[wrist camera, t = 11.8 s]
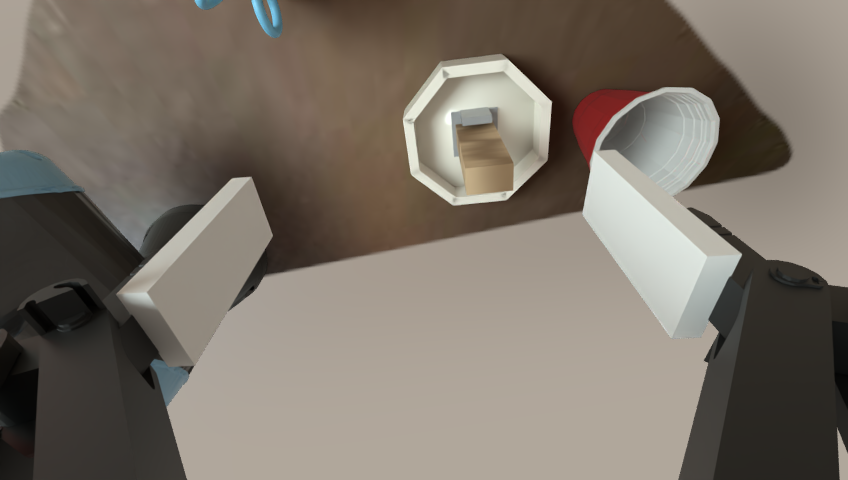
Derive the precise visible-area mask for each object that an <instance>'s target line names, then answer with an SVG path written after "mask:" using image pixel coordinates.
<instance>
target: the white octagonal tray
mask: <svg viewBox="0 0 848 480" xmlns="http://www.w3.org/2000/svg"><path fill="white" fill-rule="evenodd" d="M551 107H552V102H551V101H550V100H549V99H548V98H547V97H546V96H545V95H544V94H543V93H542V92H541V91H540V90H539V89H538V88H537V87H536V86H535V85H534V84H533V83H532V82H531V81H530V80H529V79H528V78H527V77H526V76H525V75H524V74H523V73H522V72H521V71H520V70H518V69H517V68H516V67H515V66H514V65H513V64H512V63H511V62H510V61H509V60H508V59H507V58H506V57H505V56H504V55H502V54H496V55H488V56H480V57H472V58H464V59H456V60H449V61H441V62H440V63H439V65H438V66H437V67H436V69H435V70H434V71H433V73H432V74H431V75H430V77H429V78H428V79H427V81H426V82H425V83H424V85H423V86H422V87H421V89H420V90H419V91H418V93H417V94H416V95H415V97H414V98H413V99H412V101H411V102H410V103H409V105H408V106H407V107H406V109H405V111H404V117H403V122H404V129H405V136H406V143H407V150H408V157H409V164H410V170H411V175H412V176H413V177H415V178H416V179H417V180H419V181H420V182H422V183H423V184H424V185H426V186H427V187H428V188H430V189H431V190H433V191H434V192H435V193H437V194H438V195H439V196H441V197H442V198H444V199H445V200H446V201H448V202H449V203H451V204H452V205H463V204H473V203H483V202H493V201H503V200H507V199H508V198H509V197H510V196H511V195H512V194H513V193H514V192H515V191H516V190H518V189H519V188H520V187H521V186H522V185H523V184H524V183H525V182H526V181H527V180H528V179H529V178H530V177H531V176H532V175H533V174H534V173H535V172H536V171H537V170H538V169H539V168H540V167H541V166H542V165H543V164H544V163H545V162H547V160H548V147H549V134H550V120H551ZM492 121H493V123H494V125H495V127H496V129H497V131H498V133H499V135H500V137H501V139H502V141H503V143H504V145H505V147H506V149H507V151H508V153H509V155H510V157H511V159H512V161H513V163H514V181H513V191H505V192H495V193H485V194H475V195H467V194H466V189H465V184H464V179H463V174H462V169H461V164H460V159H459V154H458V149H457V139H456V124H462V126H468V125H477V124H486V123H492Z"/></svg>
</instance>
